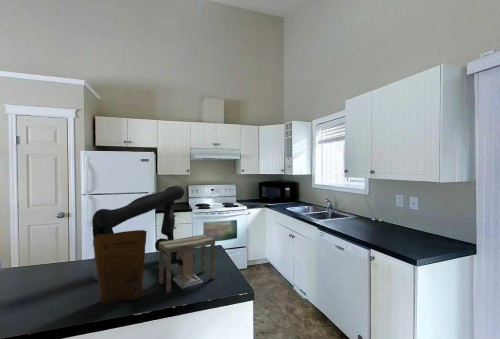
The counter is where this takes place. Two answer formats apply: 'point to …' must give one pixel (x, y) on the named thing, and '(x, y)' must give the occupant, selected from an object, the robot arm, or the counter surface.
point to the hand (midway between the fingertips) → (187, 262)
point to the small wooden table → (184, 245)
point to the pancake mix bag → (120, 265)
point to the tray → (187, 281)
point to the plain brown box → (186, 263)
